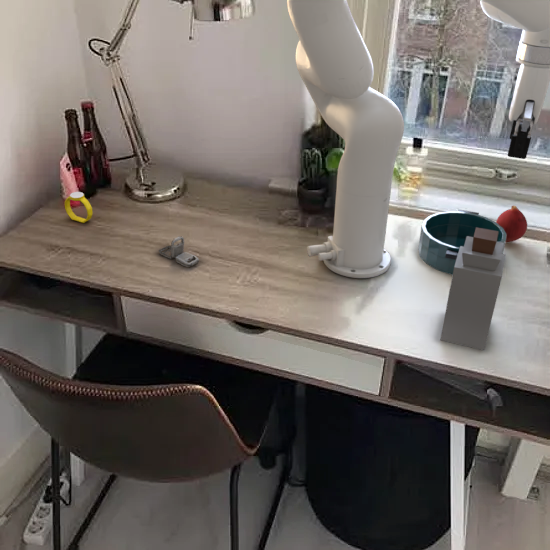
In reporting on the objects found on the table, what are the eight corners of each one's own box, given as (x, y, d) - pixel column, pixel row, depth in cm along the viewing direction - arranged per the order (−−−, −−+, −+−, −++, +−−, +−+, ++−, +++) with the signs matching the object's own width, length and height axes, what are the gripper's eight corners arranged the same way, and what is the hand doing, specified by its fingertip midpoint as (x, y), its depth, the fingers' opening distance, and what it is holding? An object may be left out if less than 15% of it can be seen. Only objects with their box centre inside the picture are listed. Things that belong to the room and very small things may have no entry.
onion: (519, 236, 131) (528, 200, 127) (525, 250, 127) (534, 213, 122) (489, 234, 132) (497, 198, 128) (495, 248, 127) (503, 211, 123)
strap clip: (200, 262, 121) (199, 242, 118) (188, 268, 119) (187, 248, 116) (169, 247, 125) (167, 227, 123) (157, 253, 123) (155, 233, 121)
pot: (443, 281, 116) (447, 255, 114) (404, 241, 129) (408, 216, 126) (517, 269, 120) (523, 244, 117) (472, 231, 133) (477, 207, 130)
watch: (64, 220, 134) (59, 194, 131) (72, 215, 136) (68, 189, 133) (88, 226, 132) (83, 200, 129) (96, 220, 134) (92, 194, 131)
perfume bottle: (440, 340, 102) (459, 240, 92) (446, 316, 107) (465, 220, 98) (484, 350, 100) (508, 249, 90) (488, 325, 105) (511, 228, 96)
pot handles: (467, 262, 114) (468, 257, 114) (444, 257, 115) (445, 253, 115) (478, 216, 129) (479, 212, 129) (457, 213, 130) (458, 209, 130)
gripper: (518, 41, 120) (498, 131, 129) (516, 62, 106) (493, 161, 115) (562, 46, 118) (538, 136, 127) (565, 68, 104) (538, 168, 113)
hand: (517, 148), depth 121 cm, fingers open, 9 cm apart
